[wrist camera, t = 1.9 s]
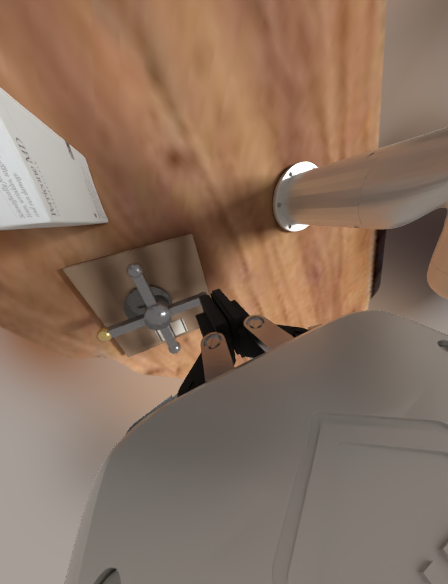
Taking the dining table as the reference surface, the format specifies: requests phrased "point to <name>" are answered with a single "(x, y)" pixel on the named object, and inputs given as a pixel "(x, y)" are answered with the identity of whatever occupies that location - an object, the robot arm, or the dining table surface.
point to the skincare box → (41, 175)
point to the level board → (118, 284)
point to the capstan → (149, 309)
